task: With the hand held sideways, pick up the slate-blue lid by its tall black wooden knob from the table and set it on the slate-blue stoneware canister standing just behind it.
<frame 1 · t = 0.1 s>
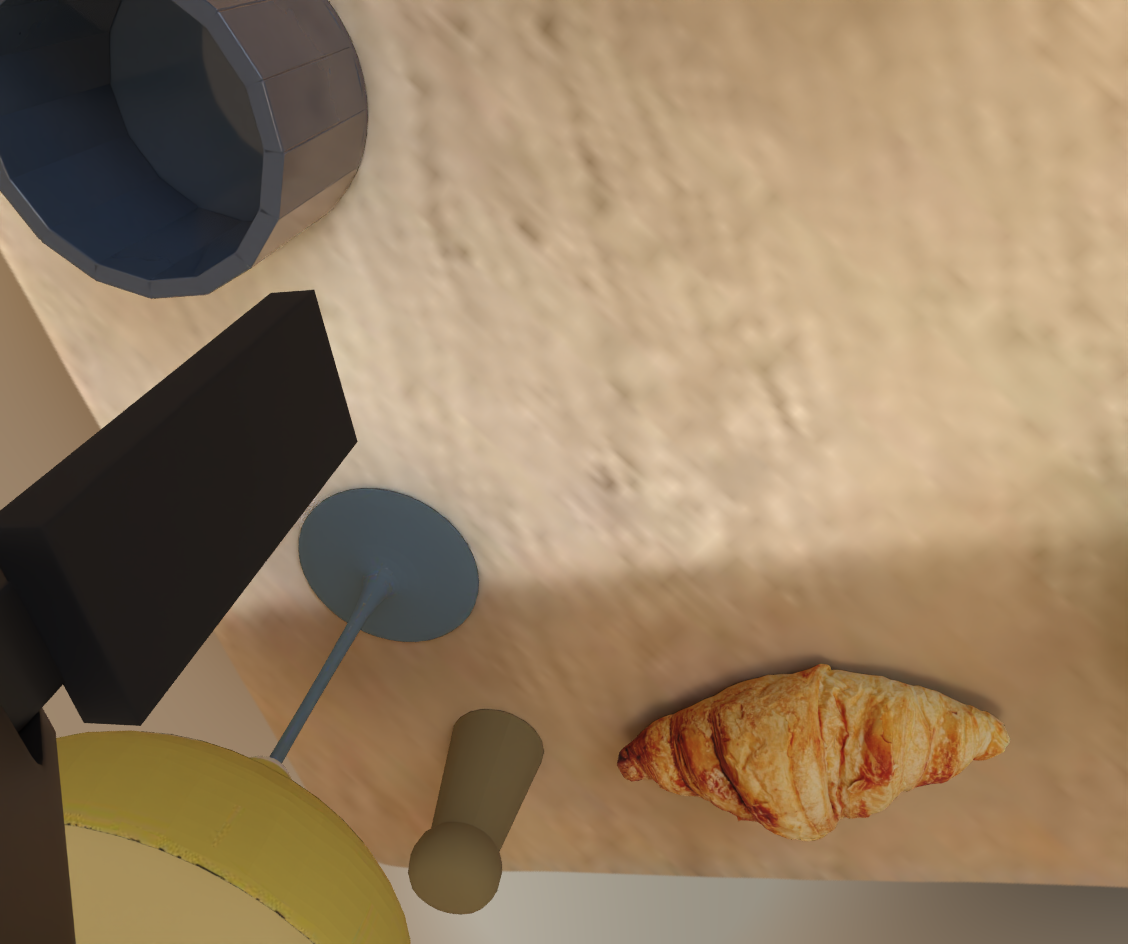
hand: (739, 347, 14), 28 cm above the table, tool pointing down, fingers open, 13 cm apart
canister: (232, 93, 42), on the table
croissant: (803, 720, 55), on the table
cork: (498, 741, 61), on the table
cocktail glass: (390, 564, 55), on the table
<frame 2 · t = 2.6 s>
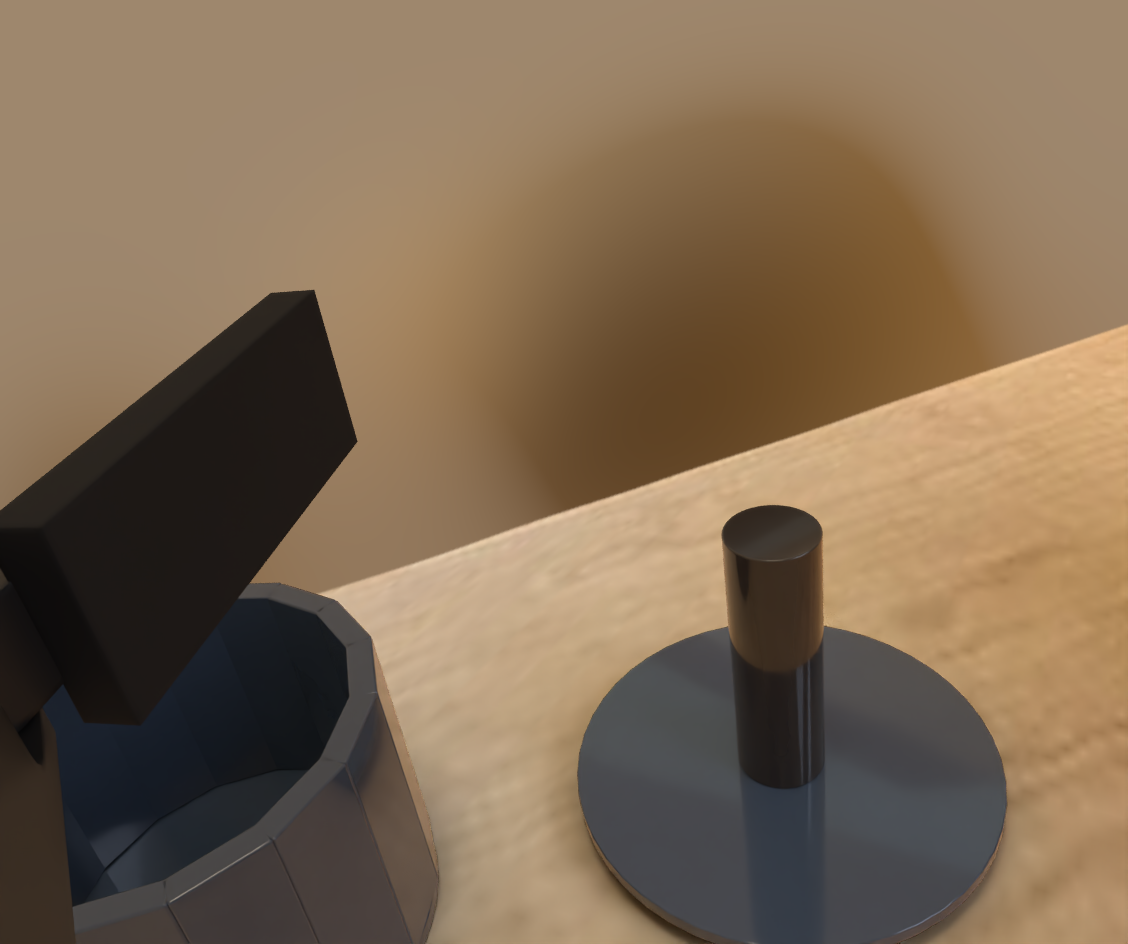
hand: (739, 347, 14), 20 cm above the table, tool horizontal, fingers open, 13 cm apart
lid: (781, 766, 32), point 1 cm above the table
canister: (244, 916, 31), on the table
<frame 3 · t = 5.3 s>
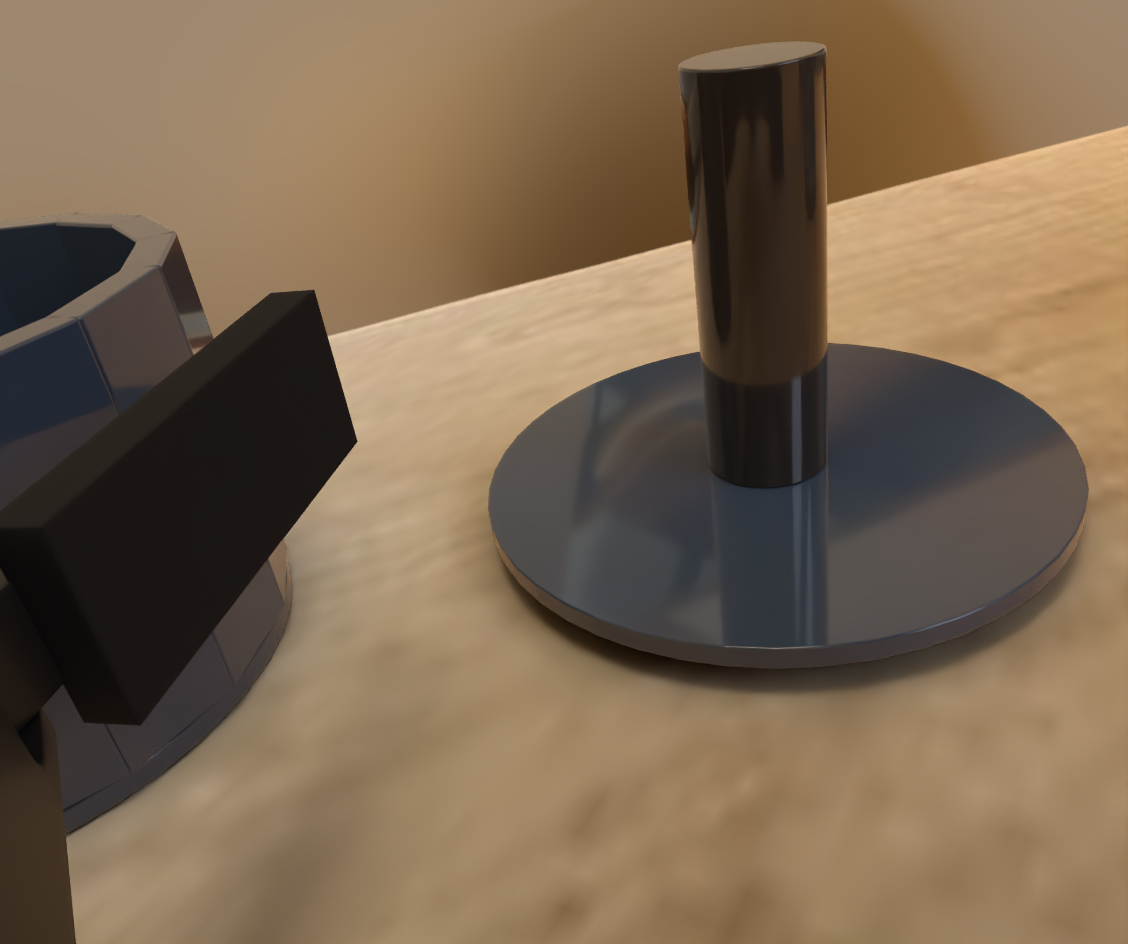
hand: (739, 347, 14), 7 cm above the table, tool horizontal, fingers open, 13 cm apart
lid: (768, 475, 23), point 1 cm above the table
canister: (18, 662, 22), on the table
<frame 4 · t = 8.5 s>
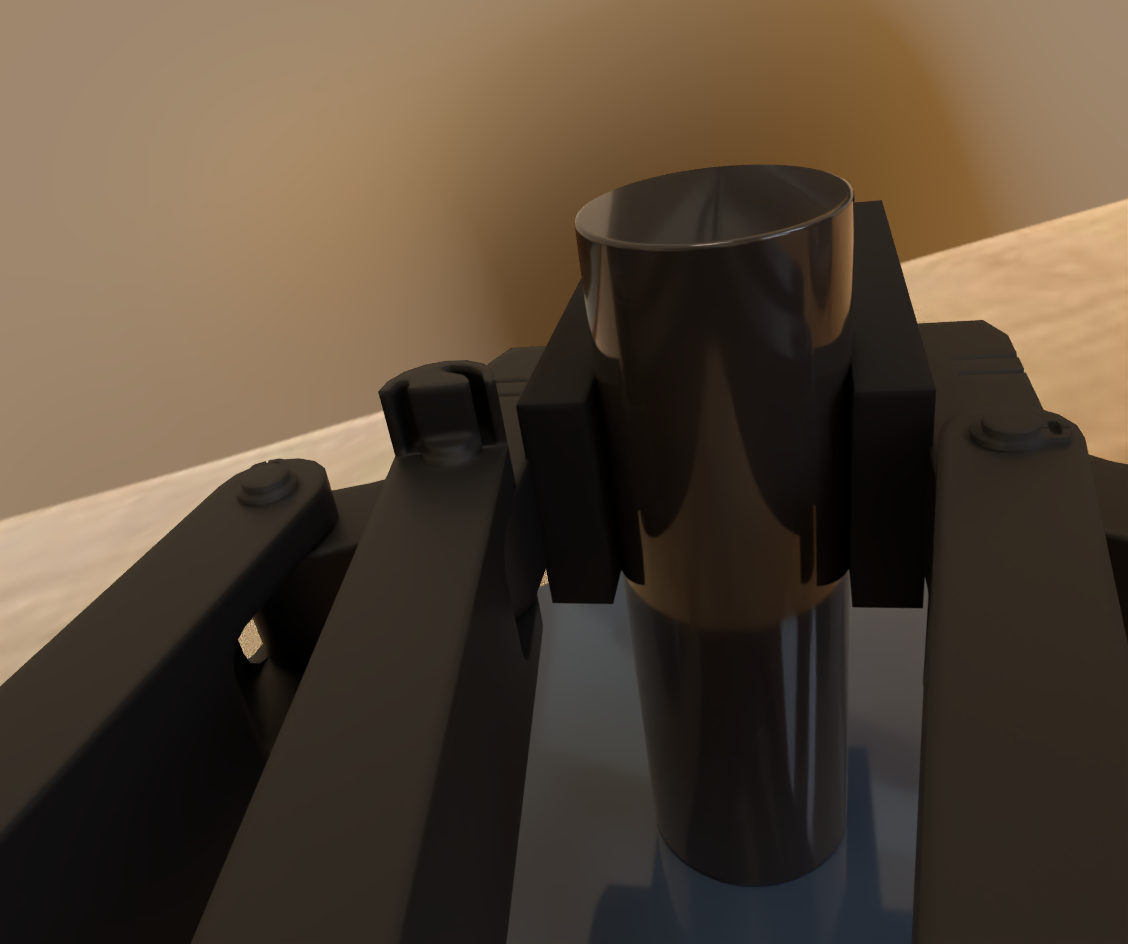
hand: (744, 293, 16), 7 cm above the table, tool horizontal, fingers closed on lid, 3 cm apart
lid: (750, 826, 14), point 1 cm above the table, touching gripper
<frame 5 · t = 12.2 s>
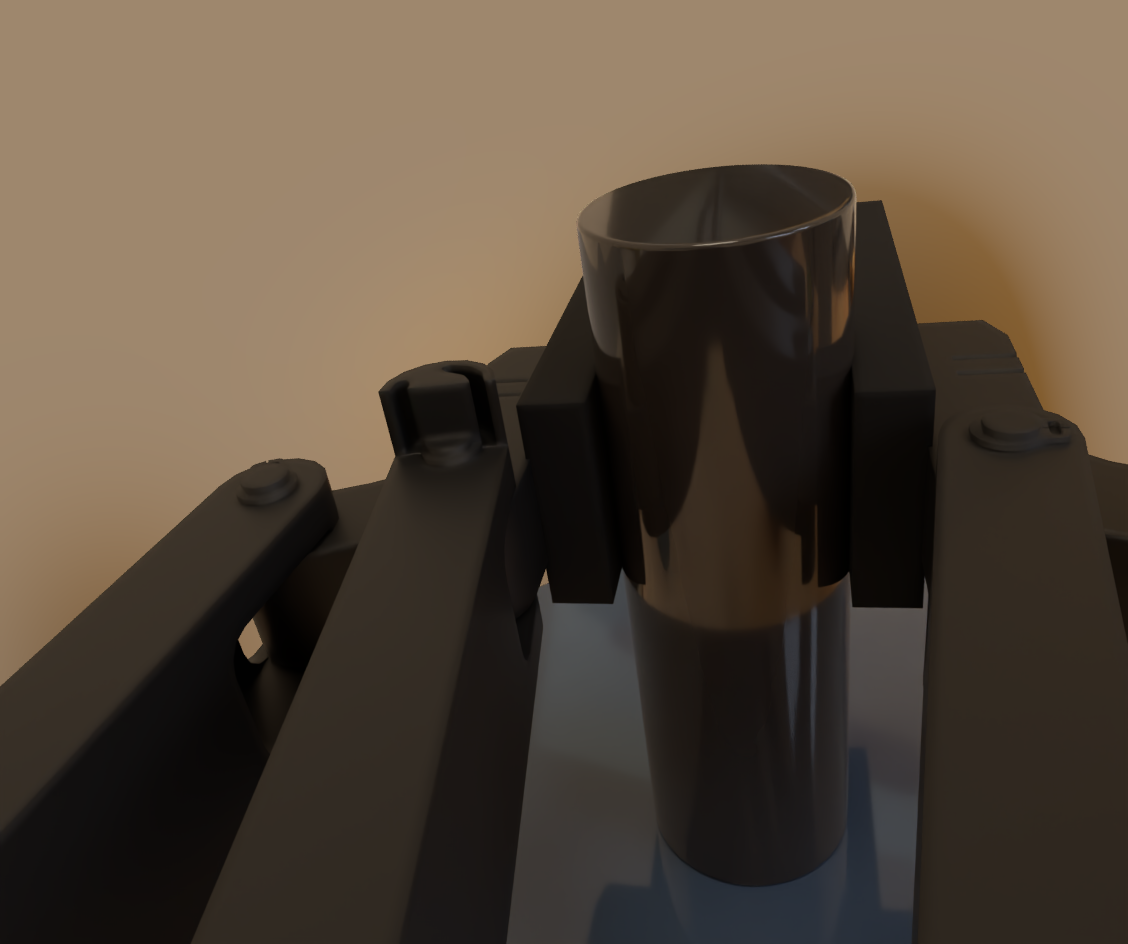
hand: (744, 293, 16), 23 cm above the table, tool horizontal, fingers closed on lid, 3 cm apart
lid: (750, 826, 14), point 17 cm above the table, touching gripper
when the fingers open (15 cm above the table, at t = 16.4 s): lid stays where it is, resting on canister.
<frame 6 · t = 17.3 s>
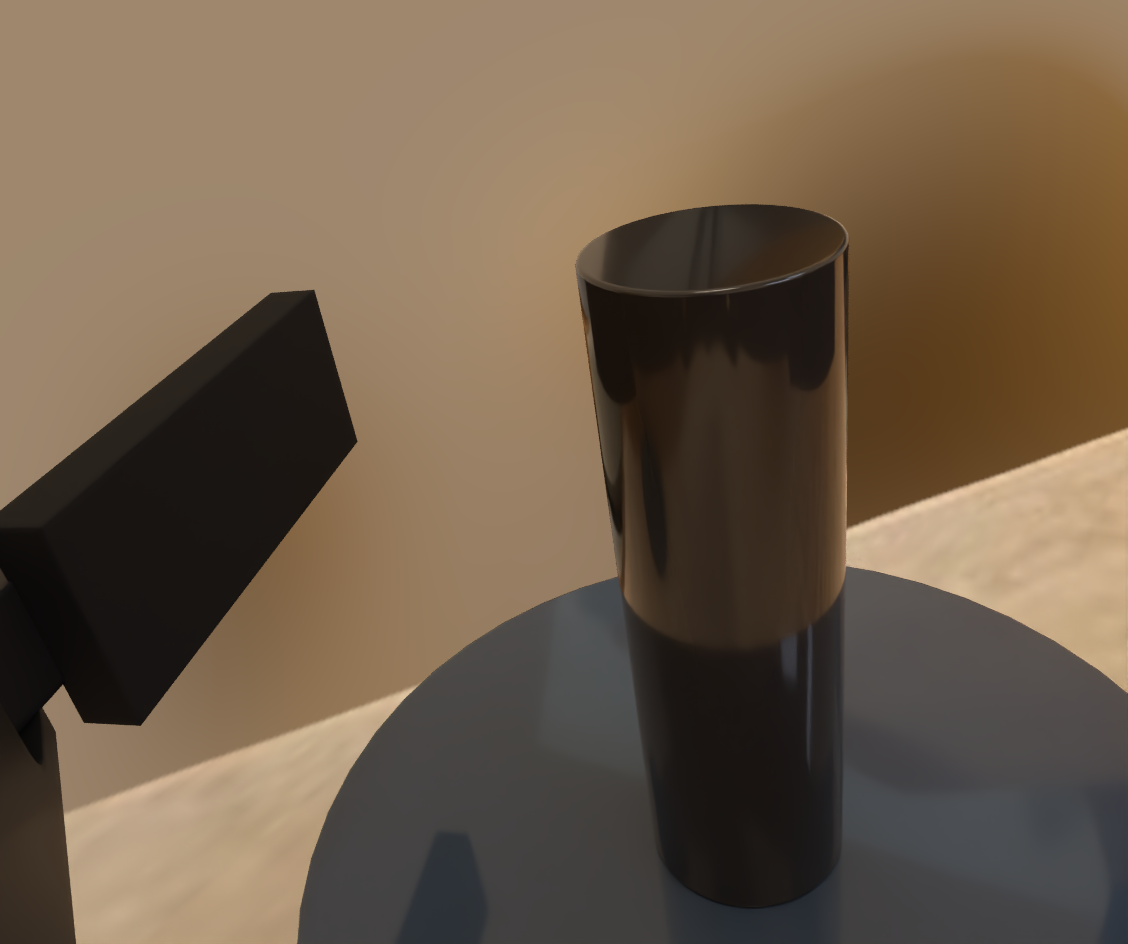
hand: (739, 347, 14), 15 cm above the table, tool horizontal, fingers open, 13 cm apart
lid: (747, 847, 15), point 8 cm above the table, touching canister
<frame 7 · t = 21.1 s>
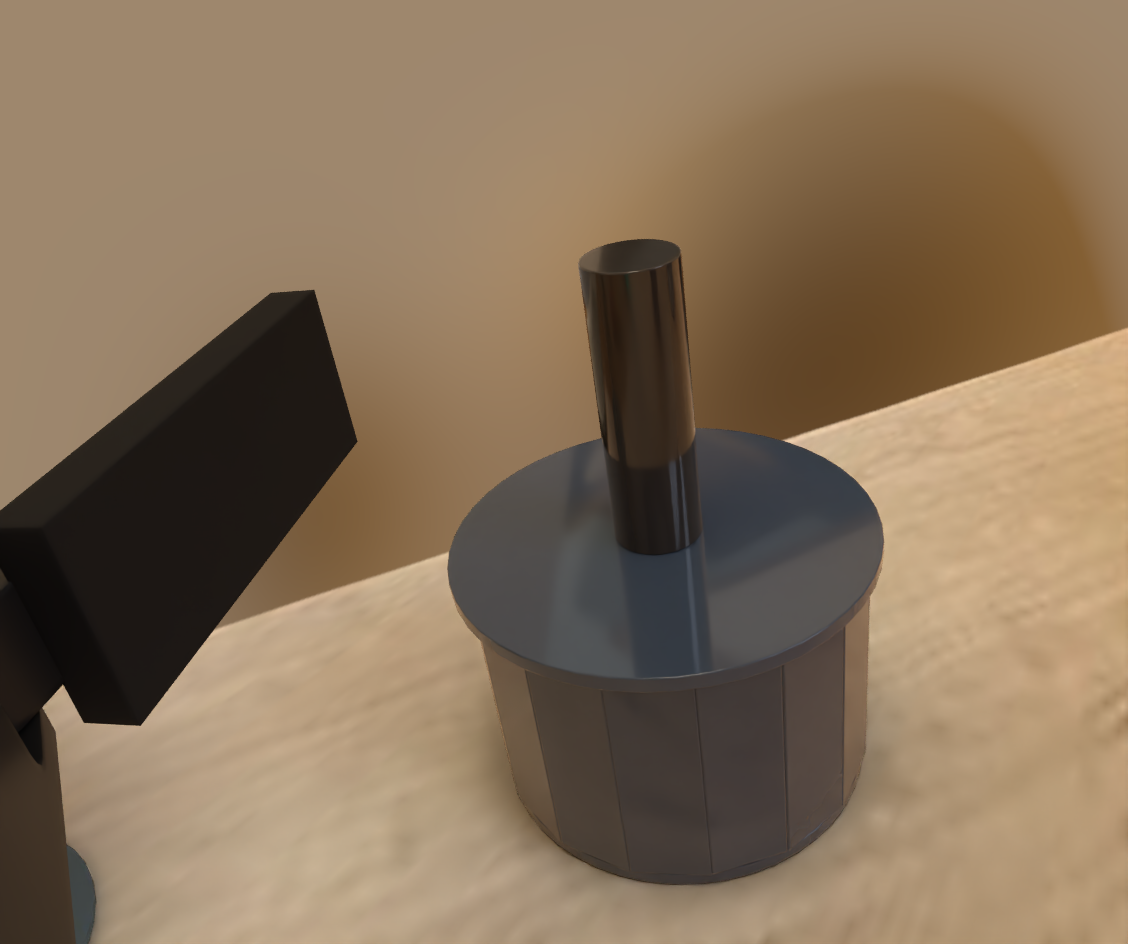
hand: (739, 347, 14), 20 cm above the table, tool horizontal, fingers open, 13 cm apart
lid: (659, 542, 31), point 8 cm above the table, touching canister
canister: (681, 733, 35), on the table
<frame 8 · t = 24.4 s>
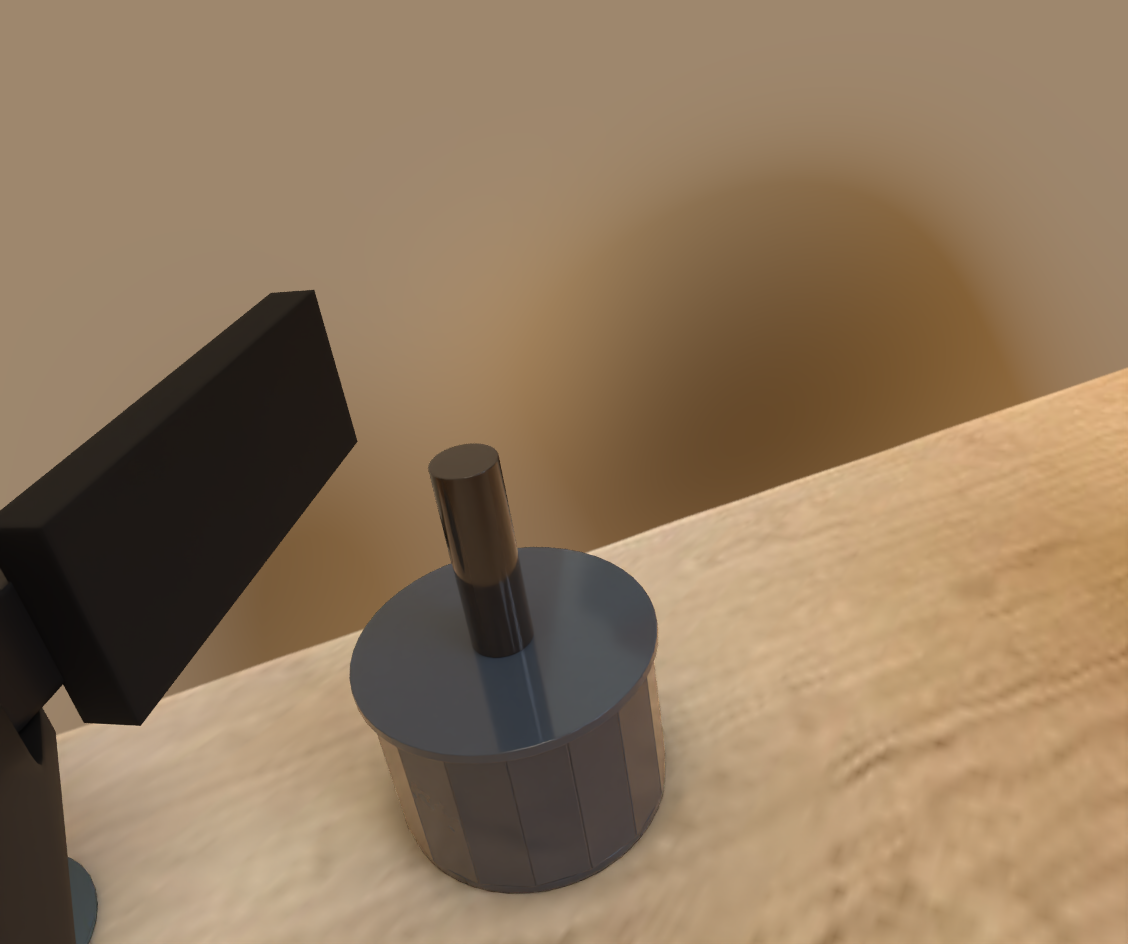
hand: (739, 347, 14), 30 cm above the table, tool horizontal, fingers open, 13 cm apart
lid: (504, 645, 42), point 8 cm above the table, touching canister
canister: (535, 778, 46), on the table
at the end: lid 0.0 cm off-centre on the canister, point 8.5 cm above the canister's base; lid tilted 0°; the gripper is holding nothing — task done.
